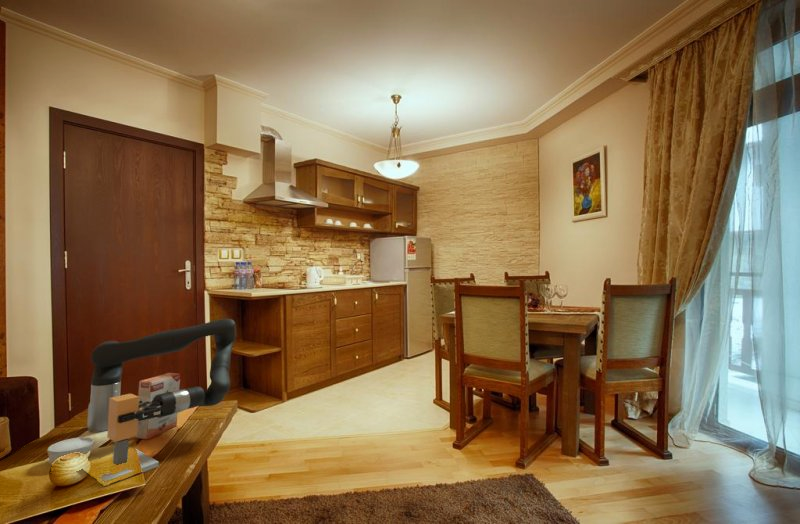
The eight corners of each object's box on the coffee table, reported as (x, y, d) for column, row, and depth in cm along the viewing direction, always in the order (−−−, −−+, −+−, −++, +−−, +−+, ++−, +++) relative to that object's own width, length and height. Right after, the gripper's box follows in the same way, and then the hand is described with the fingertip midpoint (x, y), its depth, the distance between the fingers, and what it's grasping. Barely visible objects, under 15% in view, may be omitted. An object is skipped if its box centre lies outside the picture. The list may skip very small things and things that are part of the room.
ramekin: (101, 454, 123) (102, 438, 124) (65, 471, 112) (66, 453, 113) (75, 451, 126) (76, 435, 126) (36, 466, 115) (38, 449, 115)
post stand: (80, 468, 114) (82, 440, 115) (132, 451, 126) (134, 425, 126) (104, 486, 104) (106, 455, 105) (158, 466, 116) (160, 439, 117)
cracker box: (148, 440, 135) (151, 382, 136) (134, 438, 136) (137, 380, 137) (178, 426, 148) (181, 373, 150) (165, 424, 150) (168, 371, 151)
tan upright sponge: (107, 437, 115) (109, 398, 115) (128, 431, 120) (130, 393, 120) (115, 442, 112) (117, 401, 112) (137, 435, 117) (139, 396, 117)
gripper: (161, 388, 132) (104, 400, 118) (183, 395, 124) (124, 409, 110) (160, 409, 132) (103, 424, 118) (182, 418, 124) (123, 435, 110)
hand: (114, 417), depth 114 cm, fingers closed on tan upright sponge, 5 cm apart
